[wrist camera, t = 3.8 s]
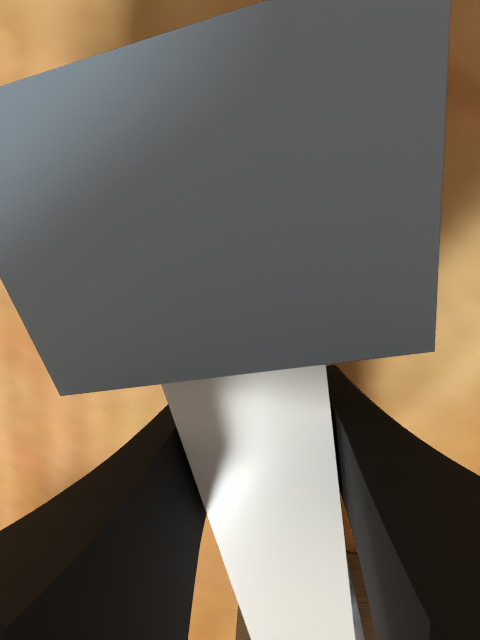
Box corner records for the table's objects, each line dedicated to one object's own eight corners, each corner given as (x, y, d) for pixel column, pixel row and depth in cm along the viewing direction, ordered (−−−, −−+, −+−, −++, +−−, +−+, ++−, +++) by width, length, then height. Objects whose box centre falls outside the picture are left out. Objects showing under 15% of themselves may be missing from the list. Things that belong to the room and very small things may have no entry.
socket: (338, 99, 8) (453, -61, 3) (350, 270, 9) (435, 351, 4) (112, 158, 9) (-83, 113, 4) (157, 302, 10) (60, 396, 6)
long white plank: (289, 157, 7) (304, 129, 4) (343, 594, 14) (364, 709, 11) (160, 188, 8) (86, 183, 5) (271, 593, 15) (271, 702, 12)
